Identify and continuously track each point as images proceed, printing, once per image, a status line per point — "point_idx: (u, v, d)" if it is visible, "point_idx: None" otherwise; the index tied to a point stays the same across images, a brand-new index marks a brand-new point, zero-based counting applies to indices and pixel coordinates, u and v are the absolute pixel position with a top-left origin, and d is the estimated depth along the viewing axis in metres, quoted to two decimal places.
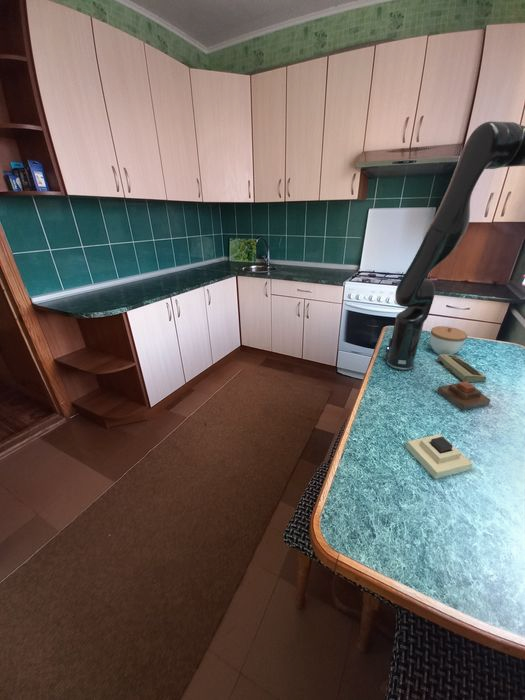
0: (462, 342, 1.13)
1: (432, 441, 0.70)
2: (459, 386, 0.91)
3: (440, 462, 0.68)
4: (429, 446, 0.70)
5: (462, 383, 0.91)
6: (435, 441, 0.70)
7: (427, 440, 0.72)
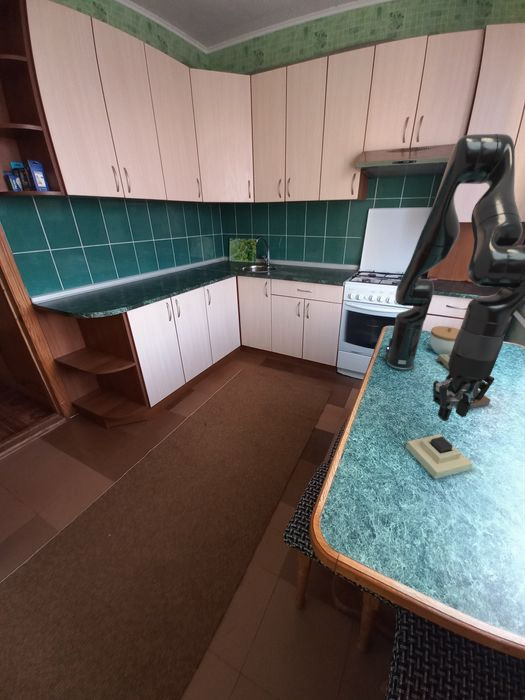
0: None
1: (432, 441, 0.70)
2: None
3: (440, 462, 0.68)
4: (429, 446, 0.70)
5: None
6: (435, 441, 0.70)
7: (427, 440, 0.72)
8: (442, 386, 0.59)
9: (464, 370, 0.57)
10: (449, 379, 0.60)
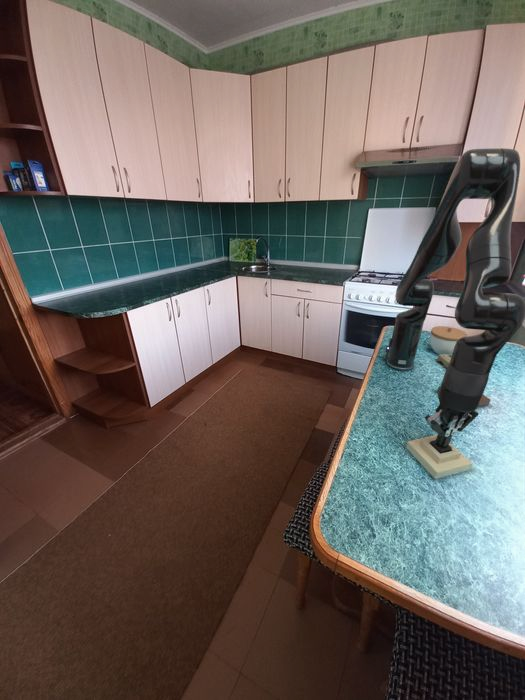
0: None
1: (431, 443, 0.71)
2: None
3: (440, 462, 0.68)
4: (429, 446, 0.70)
5: None
6: (434, 443, 0.70)
7: (427, 440, 0.72)
8: (432, 421, 0.64)
9: (452, 404, 0.61)
10: (438, 412, 0.64)
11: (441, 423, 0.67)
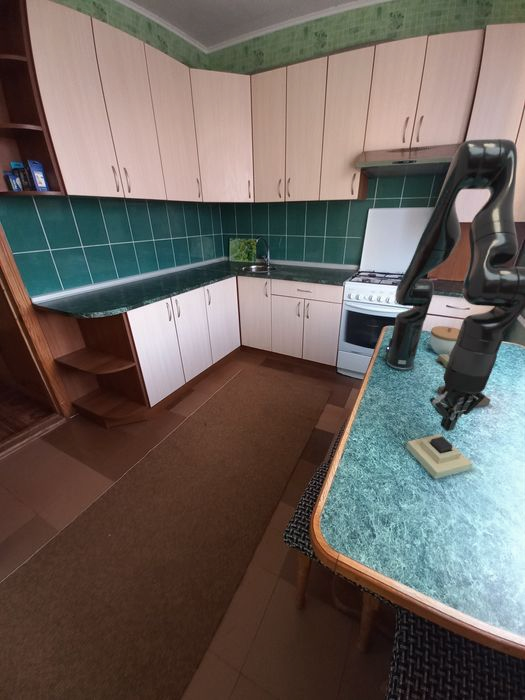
0: None
1: (432, 441, 0.70)
2: None
3: (440, 462, 0.68)
4: (429, 446, 0.70)
5: None
6: (435, 441, 0.70)
7: (427, 440, 0.72)
8: (437, 403, 0.62)
9: (458, 385, 0.59)
10: (444, 394, 0.62)
11: (446, 406, 0.65)
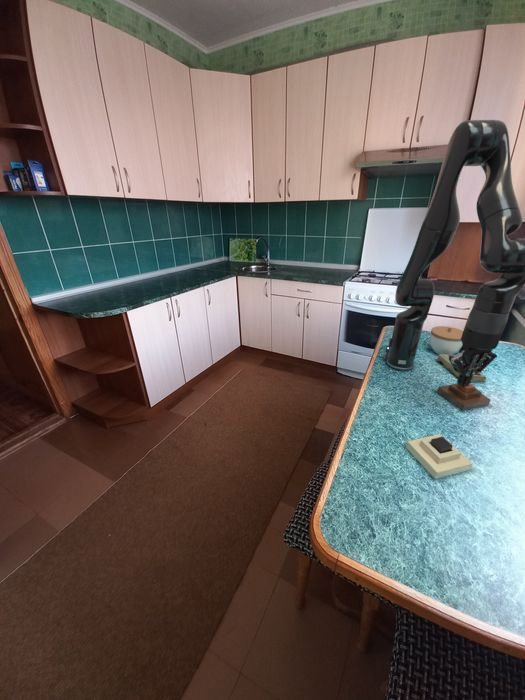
0: None
1: (432, 441, 0.70)
2: (459, 386, 0.91)
3: (440, 462, 0.68)
4: (429, 446, 0.70)
5: None
6: (435, 441, 0.70)
7: (427, 440, 0.72)
8: (456, 360, 0.72)
9: (475, 342, 0.69)
10: (461, 352, 0.72)
11: (463, 364, 0.75)
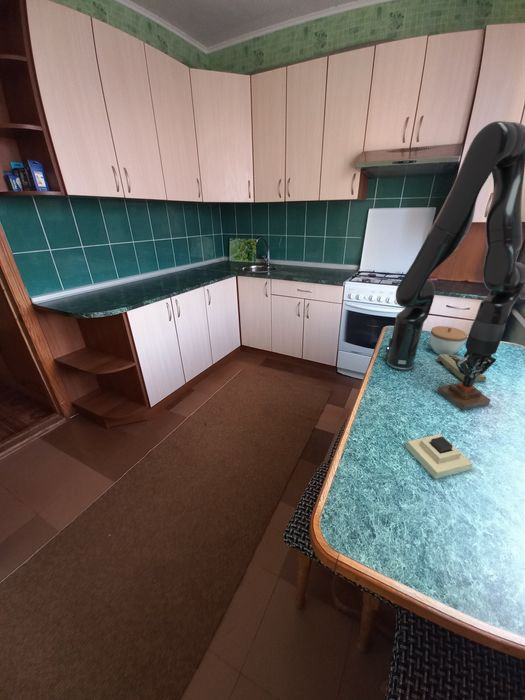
0: (462, 342, 1.13)
1: (432, 441, 0.70)
2: (459, 386, 0.91)
3: (440, 462, 0.68)
4: (429, 446, 0.70)
5: (462, 383, 0.91)
6: (435, 441, 0.70)
7: (427, 440, 0.72)
8: (461, 364, 0.84)
9: (477, 349, 0.82)
10: (466, 357, 0.85)
11: (467, 367, 0.88)
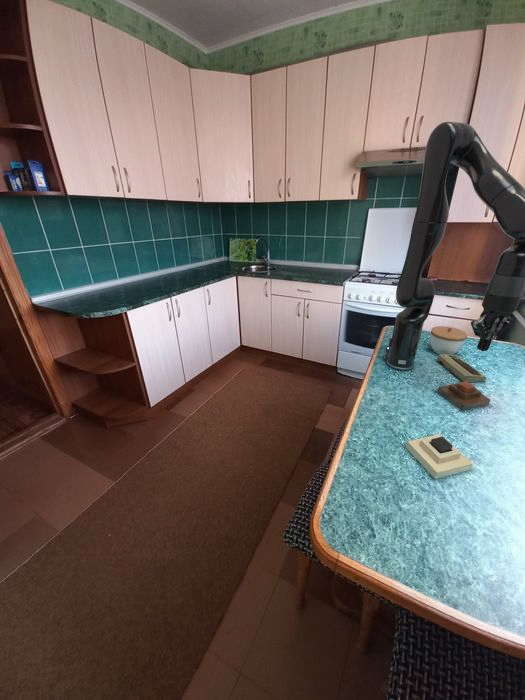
0: (462, 342, 1.13)
1: (432, 441, 0.70)
2: (459, 386, 0.91)
3: (440, 462, 0.68)
4: (429, 446, 0.70)
5: (462, 383, 0.91)
6: (435, 441, 0.70)
7: (427, 440, 0.72)
8: (478, 324, 0.78)
9: (496, 306, 0.75)
10: (482, 316, 0.78)
11: (483, 329, 0.81)
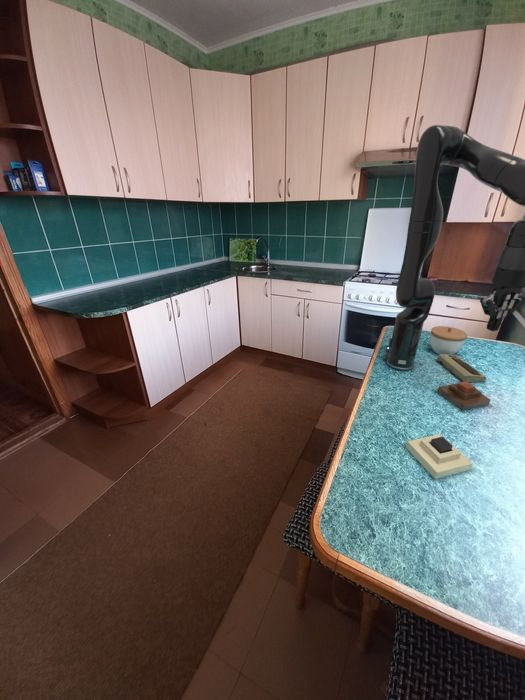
0: (462, 342, 1.13)
1: (432, 441, 0.70)
2: (459, 386, 0.91)
3: (440, 462, 0.68)
4: (429, 446, 0.70)
5: (462, 383, 0.91)
6: (435, 441, 0.70)
7: (427, 440, 0.72)
8: (488, 300, 0.73)
9: (507, 281, 0.71)
10: (493, 293, 0.74)
11: (493, 307, 0.77)
